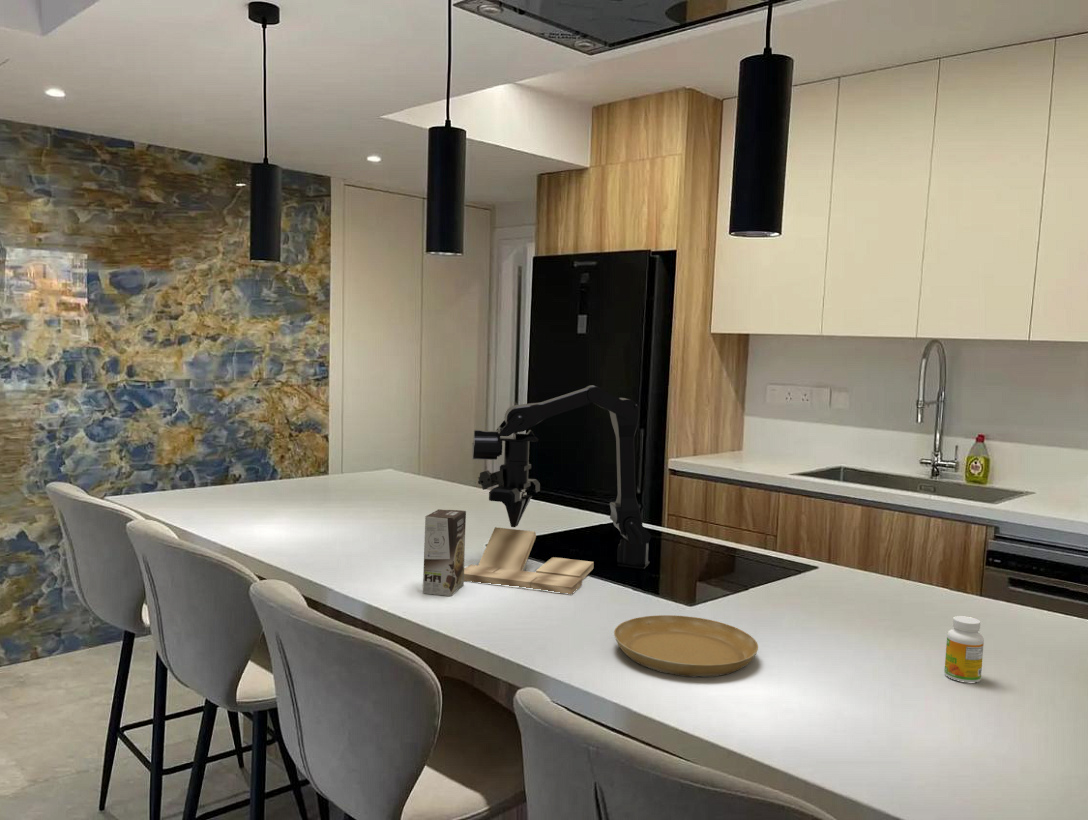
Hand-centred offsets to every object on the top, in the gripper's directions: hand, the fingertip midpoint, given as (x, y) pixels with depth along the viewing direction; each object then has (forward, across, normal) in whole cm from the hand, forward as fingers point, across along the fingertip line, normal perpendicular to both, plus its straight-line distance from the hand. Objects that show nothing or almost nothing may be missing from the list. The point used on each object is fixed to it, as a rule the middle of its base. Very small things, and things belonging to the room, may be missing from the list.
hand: (514, 526), depth 202 cm
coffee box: (+9, +25, -6) cm, 27 cm away
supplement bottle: (+10, +35, +91) cm, 98 cm away
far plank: (+6, +3, 0) cm, 6 cm away
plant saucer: (+10, +43, +47) cm, 64 cm away
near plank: (+9, +2, +13) cm, 16 cm away
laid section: (+9, +14, +6) cm, 17 cm away
